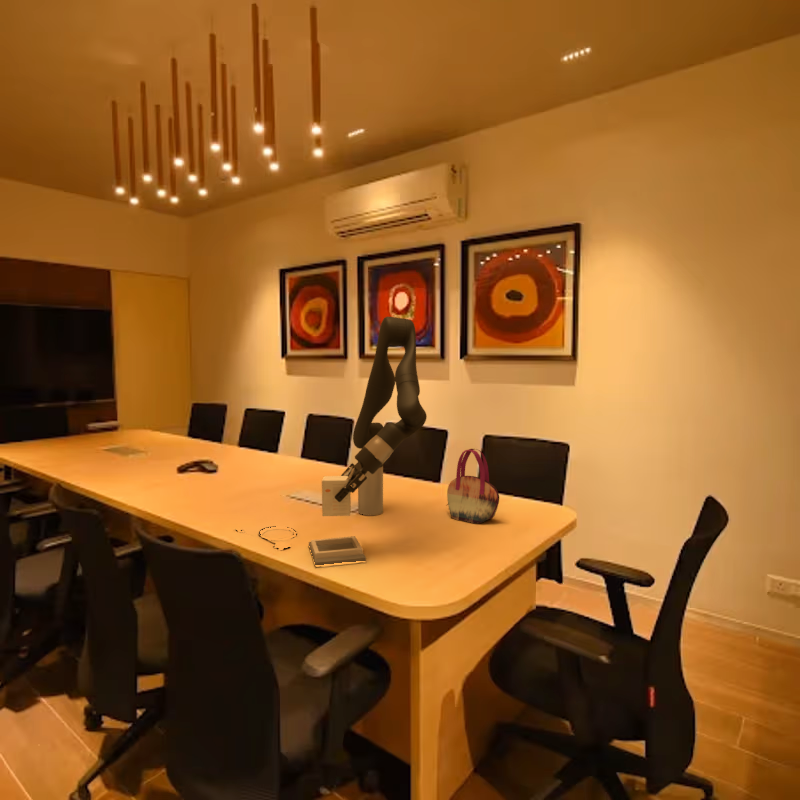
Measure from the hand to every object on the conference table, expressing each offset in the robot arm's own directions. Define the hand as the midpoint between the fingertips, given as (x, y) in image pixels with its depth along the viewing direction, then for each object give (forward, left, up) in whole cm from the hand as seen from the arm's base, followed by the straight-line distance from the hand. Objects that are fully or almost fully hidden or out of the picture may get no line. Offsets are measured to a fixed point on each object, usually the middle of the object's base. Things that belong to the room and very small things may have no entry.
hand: (334, 496), depth 154 cm
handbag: (-22, +52, -17) cm, 59 cm away
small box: (0, +1, -5) cm, 5 cm away
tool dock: (0, 0, -17) cm, 17 cm away
